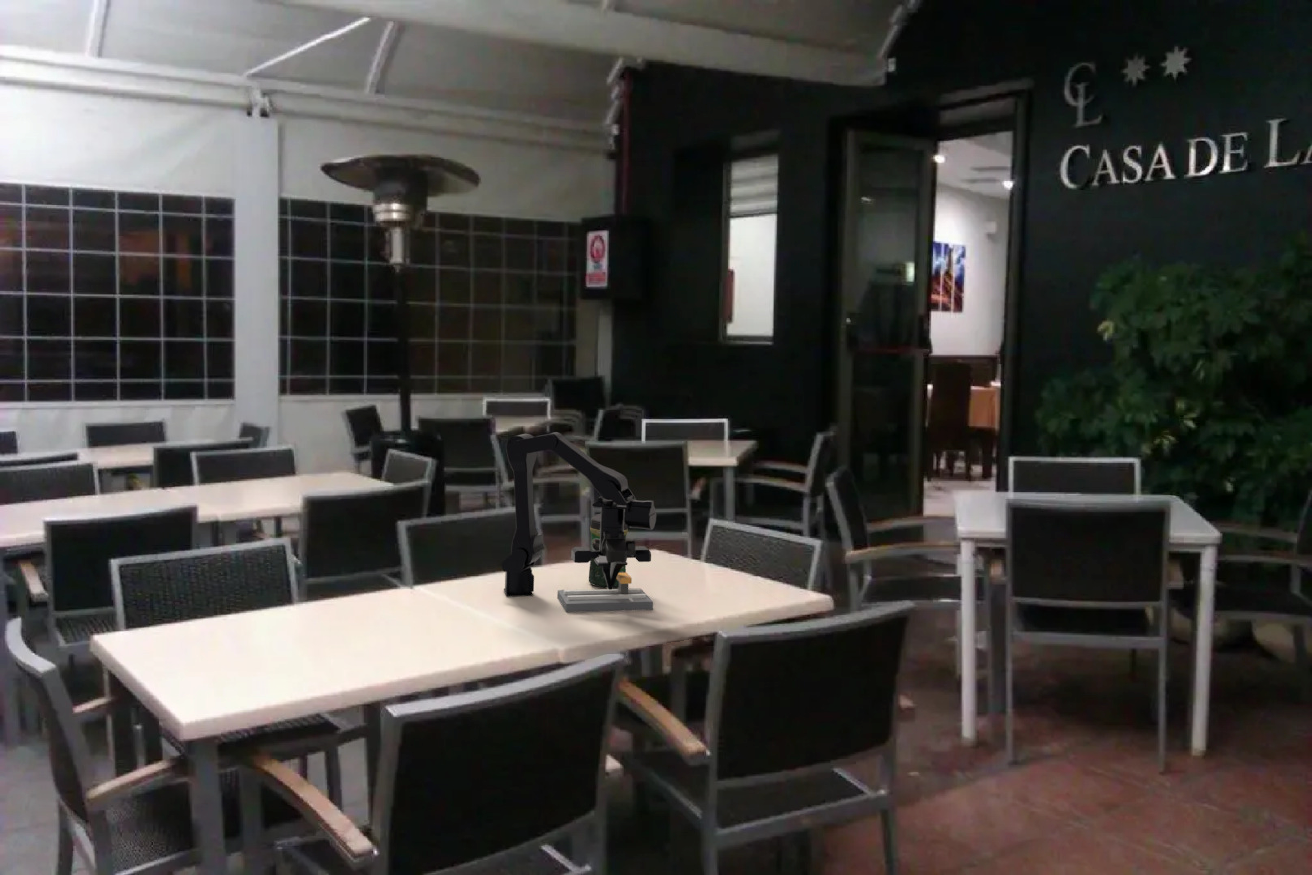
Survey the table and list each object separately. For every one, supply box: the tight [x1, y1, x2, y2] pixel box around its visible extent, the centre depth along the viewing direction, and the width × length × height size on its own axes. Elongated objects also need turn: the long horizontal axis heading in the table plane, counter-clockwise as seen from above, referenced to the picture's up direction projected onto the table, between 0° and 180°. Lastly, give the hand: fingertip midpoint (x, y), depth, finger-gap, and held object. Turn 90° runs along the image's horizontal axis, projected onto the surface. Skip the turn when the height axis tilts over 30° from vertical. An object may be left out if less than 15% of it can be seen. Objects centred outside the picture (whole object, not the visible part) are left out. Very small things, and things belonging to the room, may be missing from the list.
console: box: [557, 587, 654, 613], centre depth 272 cm, size 21×13×3 cm, turn 104°
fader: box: [616, 572, 633, 594], centre depth 273 cm, size 3×6×5 cm, turn 14°
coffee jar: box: [588, 513, 629, 589], centre depth 290 cm, size 10×8×19 cm
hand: (609, 589), depth 272 cm, fingers closed
